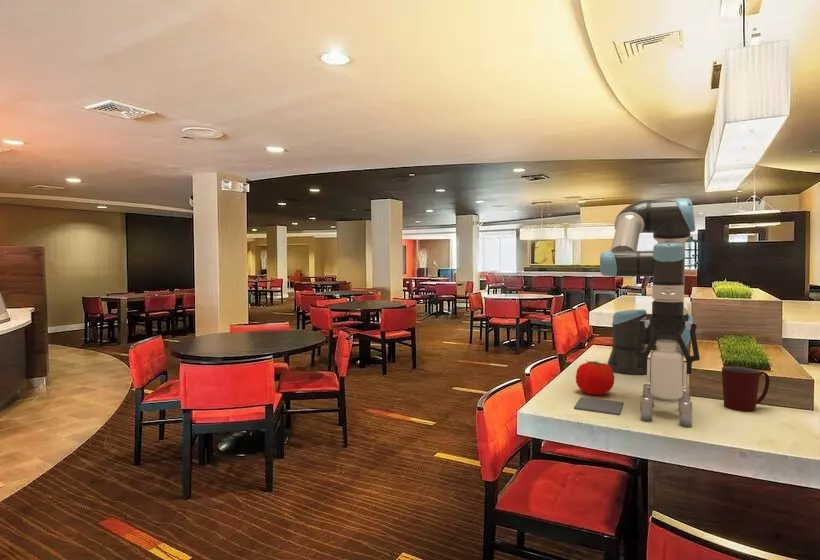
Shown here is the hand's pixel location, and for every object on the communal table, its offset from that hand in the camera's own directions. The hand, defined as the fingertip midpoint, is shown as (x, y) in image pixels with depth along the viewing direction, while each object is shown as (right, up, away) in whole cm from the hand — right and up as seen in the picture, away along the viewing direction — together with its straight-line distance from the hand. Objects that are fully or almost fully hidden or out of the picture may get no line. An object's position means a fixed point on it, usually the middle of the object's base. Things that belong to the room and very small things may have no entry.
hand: (666, 383), depth 131 cm
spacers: (0, -9, 0) cm, 9 cm away
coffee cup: (+9, -8, +17) cm, 21 cm away
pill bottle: (0, -4, 0) cm, 4 cm away
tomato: (-11, -8, +22) cm, 26 cm away
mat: (-15, -8, +8) cm, 19 cm away
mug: (+26, -9, +6) cm, 28 cm away
